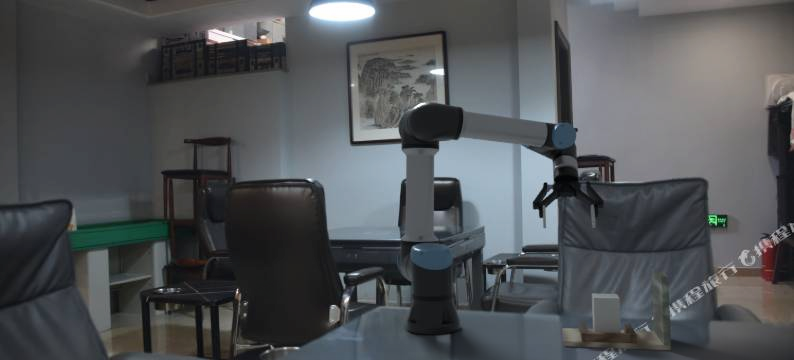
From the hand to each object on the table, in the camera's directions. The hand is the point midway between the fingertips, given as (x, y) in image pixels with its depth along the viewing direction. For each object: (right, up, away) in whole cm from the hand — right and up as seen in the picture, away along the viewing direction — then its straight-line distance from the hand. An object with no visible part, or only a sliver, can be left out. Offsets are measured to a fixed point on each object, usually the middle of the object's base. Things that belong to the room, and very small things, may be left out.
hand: (569, 225), depth 164 cm
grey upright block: (+3, -26, -21) cm, 34 cm away
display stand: (+5, -27, -22) cm, 35 cm away
